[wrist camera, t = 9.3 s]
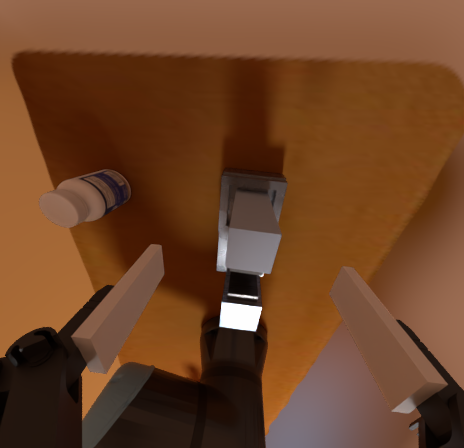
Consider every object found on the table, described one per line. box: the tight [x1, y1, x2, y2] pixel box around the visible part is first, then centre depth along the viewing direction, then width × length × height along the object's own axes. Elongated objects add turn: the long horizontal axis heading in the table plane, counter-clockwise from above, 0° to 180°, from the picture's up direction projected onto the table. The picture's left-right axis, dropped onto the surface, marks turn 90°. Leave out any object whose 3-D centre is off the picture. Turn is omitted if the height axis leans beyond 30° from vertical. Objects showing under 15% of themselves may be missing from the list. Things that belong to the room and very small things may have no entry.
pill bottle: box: [39, 169, 131, 227], centre depth 22 cm, size 5×5×9 cm
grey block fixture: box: [217, 168, 288, 331], centre depth 22 cm, size 16×8×12 cm, turn 175°
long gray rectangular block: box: [225, 189, 282, 276], centre depth 19 cm, size 5×4×10 cm
